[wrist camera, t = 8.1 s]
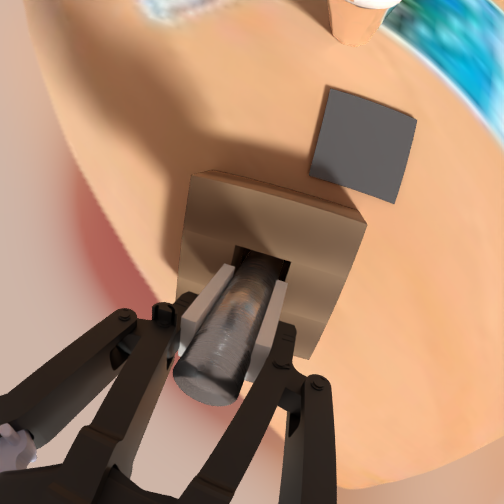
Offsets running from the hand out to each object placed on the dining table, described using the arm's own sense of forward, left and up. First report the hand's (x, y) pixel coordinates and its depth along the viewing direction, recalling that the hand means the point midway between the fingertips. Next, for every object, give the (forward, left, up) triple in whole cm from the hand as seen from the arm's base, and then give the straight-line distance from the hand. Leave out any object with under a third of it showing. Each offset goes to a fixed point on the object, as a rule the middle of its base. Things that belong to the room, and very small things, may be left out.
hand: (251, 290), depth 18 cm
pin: (0, 0, -5) cm, 5 cm away
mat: (-11, +5, -5) cm, 13 cm away
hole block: (0, 0, -5) cm, 5 cm away
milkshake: (-20, +2, -6) cm, 21 cm away
